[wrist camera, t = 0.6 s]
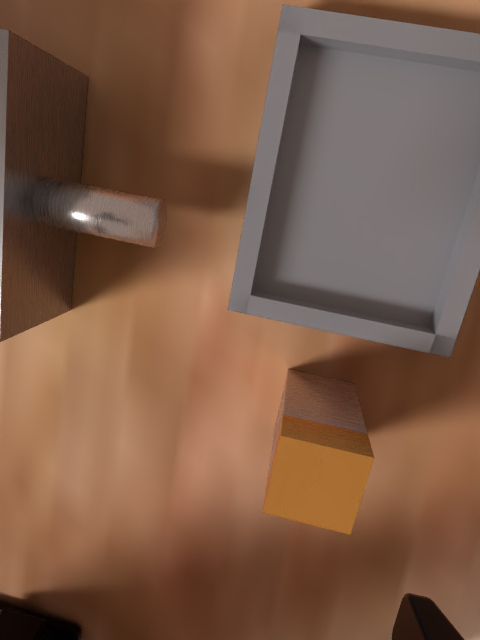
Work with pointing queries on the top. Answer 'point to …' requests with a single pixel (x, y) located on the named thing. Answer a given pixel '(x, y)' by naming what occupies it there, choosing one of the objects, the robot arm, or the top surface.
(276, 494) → the block
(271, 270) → the tray
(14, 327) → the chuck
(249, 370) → the top surface
